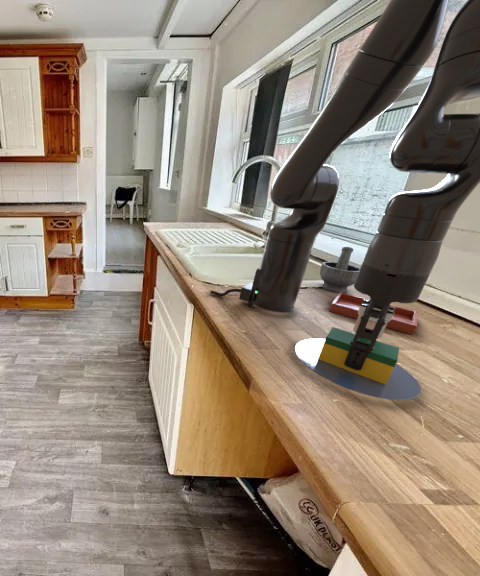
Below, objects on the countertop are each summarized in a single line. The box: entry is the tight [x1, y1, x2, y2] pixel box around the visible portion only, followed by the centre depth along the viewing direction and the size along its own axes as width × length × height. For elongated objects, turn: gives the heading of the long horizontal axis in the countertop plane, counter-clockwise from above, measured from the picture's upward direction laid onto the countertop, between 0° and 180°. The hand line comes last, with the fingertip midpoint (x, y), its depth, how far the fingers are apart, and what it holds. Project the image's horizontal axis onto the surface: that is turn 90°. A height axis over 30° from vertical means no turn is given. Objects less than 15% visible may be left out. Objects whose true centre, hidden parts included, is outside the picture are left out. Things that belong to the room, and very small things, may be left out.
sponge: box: [318, 326, 400, 384], centre depth 52 cm, size 9×6×4 cm, turn 45°
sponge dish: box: [328, 292, 419, 335], centre depth 74 cm, size 15×11×2 cm
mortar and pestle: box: [319, 246, 361, 293], centre depth 90 cm, size 11×9×12 cm
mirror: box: [294, 338, 422, 401], centre depth 53 cm, size 17×17×1 cm
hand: (354, 359), depth 52 cm, fingers closed on sponge, 5 cm apart
